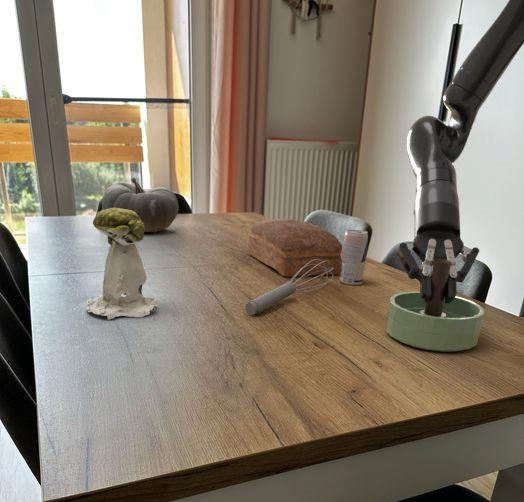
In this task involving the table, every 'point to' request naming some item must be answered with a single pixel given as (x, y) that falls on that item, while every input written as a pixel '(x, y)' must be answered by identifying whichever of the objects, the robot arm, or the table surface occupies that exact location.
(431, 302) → the pestle
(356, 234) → the energy drink
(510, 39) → the robot arm
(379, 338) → the table surface
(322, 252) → the bread
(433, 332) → the bowl
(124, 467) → the table surface
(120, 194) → the gourd
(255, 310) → the kitchen whisk
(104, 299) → the mushroom
